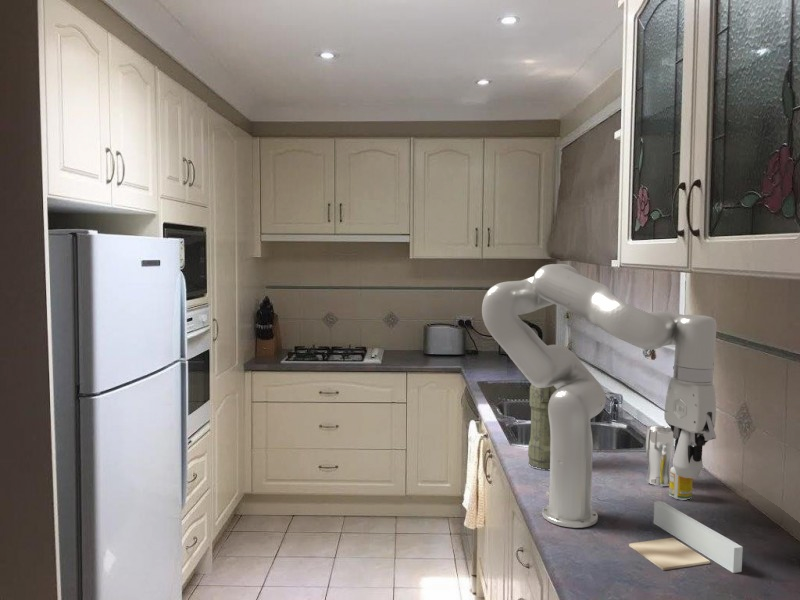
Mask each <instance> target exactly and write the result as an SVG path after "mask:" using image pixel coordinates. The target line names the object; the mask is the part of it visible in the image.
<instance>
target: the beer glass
mask: <svg viewBox="0 0 800 600" xmlns="http://www.w3.org/2000/svg"><path fill="white" fill-rule="evenodd" d="M645 435H646V436H645V437H646V438H645V451H646V460H647V466H648V467H647V468H648V469H647V475H646V481H647V482H648V483H650V484H654V485H668V484H670V469H671V465H672V464H671V463H672V461H673V456H674V449H675V439H674V438H673V432H672V430H671V427H670V426H669V427H668V426H665V425H657V424H656V425H649V426H647V427H646V434H645ZM647 482H646V483H647ZM648 483H647V484H648ZM650 484H649V485H650Z"/></svg>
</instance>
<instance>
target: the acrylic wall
mask: <svg viewBox="0 0 800 600" xmlns="http://www.w3.org/2000/svg"><path fill="white" fill-rule="evenodd" d="M653 524H654V525H656V526H658V527H659V528H660V529H662V530H664V531H665V532H667V533H669V534H670V535H672V536H673V537H674V538H675V539H678V540H680V542H682V543H683V544H684V543H685V545H688V547H690V548H691V549H693V550H696V552H699V554H700V553H701V555H704V556H705V557H707V558H708V559H709V560H712V561H713V562H715V563H716V564H718V565H720V566H721V567H723V568H725V570H727V571H729V572H731V573H733V574H736V573H741V572H742V571H743V570H742V568H743V550H744V549H743V548H744V547H743V546H742V545H740V544H738V543H736V542H735V541H734V540H731V539H730V538H728V537H726V536H724V535H722V534H721V533H719V532H717V531H716V530H714V529H711V528H710V527H708V526H706V525H705V524H703V523H701V522H699V521H697V520H696V519H694V518H692V517H691V516H689V515H687V514H685V513H683V512H682V511H680V510H679V509H676V508H674V507H673V506H671V505H670V504H667V503H665V502H664V501H663V500H662V501H654V504H653Z"/></svg>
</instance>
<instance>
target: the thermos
mask: <svg viewBox="0 0 800 600" xmlns="http://www.w3.org/2000/svg"><path fill="white" fill-rule="evenodd" d="M546 345H547V346H548V344H546ZM556 390H557V389H556V388H555V387H554V386H551V387H548V388H538V387H536V386H534V385H532V384H531V383H530V386H529V406H530V438H529V441H528V446H527V448H528V450H527V451H528V465H529V464H530V465H531V466H533V467H537V468H541V469H550V439H551V438H550V422H549V415H548V404H549V400H550V398H551V396H552V394H553V393H554V392H555V391H556Z"/></svg>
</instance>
